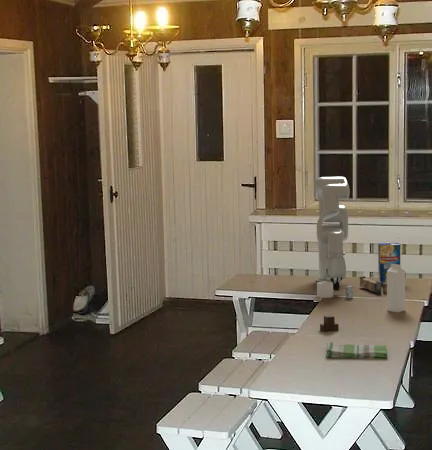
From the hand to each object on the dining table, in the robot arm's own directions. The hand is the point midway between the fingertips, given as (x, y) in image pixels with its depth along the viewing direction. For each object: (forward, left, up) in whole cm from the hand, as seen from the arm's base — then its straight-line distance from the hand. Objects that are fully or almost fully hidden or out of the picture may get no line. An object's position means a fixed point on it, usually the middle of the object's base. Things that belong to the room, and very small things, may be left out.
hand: (336, 290), depth 435 cm
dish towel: (+105, -40, -3) cm, 112 cm away
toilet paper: (0, -5, -3) cm, 6 cm away
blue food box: (-14, +38, -3) cm, 41 cm away
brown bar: (-3, +20, -1) cm, 21 cm away
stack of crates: (+69, -35, -3) cm, 78 cm away
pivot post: (+8, +20, -2) cm, 22 cm away
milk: (+46, +9, -3) cm, 47 cm away
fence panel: (+8, +28, -2) cm, 29 cm away
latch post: (+11, +2, -2) cm, 11 cm away
